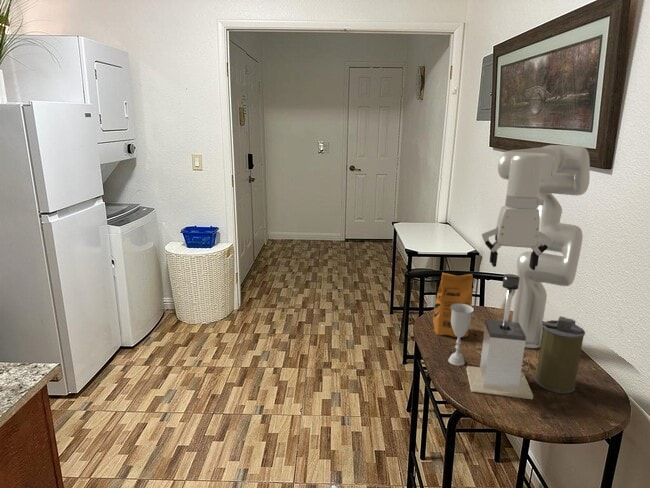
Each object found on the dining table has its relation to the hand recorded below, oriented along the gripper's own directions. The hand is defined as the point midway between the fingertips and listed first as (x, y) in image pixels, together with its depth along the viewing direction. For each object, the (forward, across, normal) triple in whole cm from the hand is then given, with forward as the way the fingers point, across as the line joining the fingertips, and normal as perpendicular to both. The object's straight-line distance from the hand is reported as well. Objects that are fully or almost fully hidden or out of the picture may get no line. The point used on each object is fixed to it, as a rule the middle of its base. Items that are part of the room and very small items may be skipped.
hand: (512, 266), depth 117 cm
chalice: (+35, +10, -11) cm, 38 cm away
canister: (+35, -16, -5) cm, 39 cm away
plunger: (+25, 0, -1) cm, 25 cm away
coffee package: (+35, +11, -33) cm, 49 cm away
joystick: (+35, 0, -1) cm, 35 cm away
